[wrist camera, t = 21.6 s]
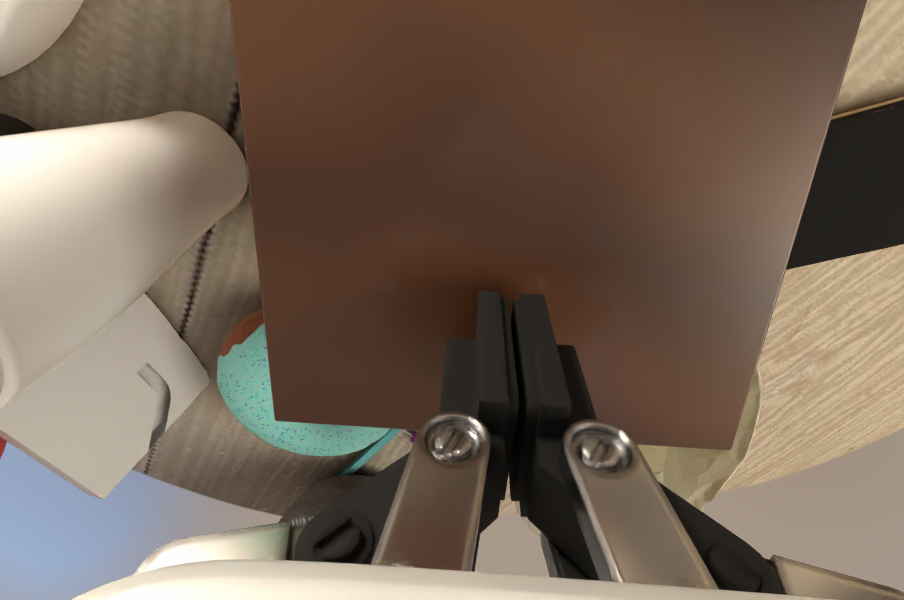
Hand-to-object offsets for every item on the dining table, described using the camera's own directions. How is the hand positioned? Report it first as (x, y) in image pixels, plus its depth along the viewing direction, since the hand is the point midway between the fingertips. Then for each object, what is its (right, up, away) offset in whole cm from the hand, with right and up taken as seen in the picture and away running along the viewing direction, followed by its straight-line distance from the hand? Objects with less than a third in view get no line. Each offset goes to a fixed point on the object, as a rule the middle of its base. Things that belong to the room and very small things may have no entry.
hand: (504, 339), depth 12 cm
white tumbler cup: (-15, +8, +12) cm, 21 cm away
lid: (0, +3, 0) cm, 3 cm away
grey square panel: (-21, -4, +14) cm, 25 cm away
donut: (-10, -3, +19) cm, 21 cm away
